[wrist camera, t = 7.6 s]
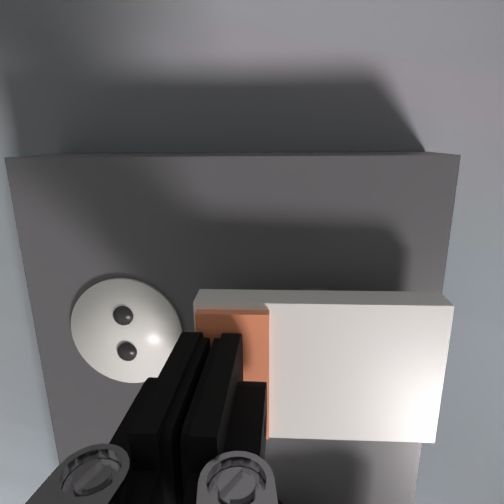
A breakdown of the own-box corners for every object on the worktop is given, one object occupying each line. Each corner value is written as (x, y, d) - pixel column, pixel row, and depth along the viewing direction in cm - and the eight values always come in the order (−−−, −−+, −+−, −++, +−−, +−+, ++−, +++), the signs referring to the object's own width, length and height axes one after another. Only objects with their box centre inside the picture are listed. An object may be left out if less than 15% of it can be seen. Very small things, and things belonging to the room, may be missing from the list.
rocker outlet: (439, 291, 11) (459, 310, 10) (422, 419, 13) (438, 450, 11) (199, 289, 12) (190, 306, 10) (206, 413, 13) (198, 442, 12)
